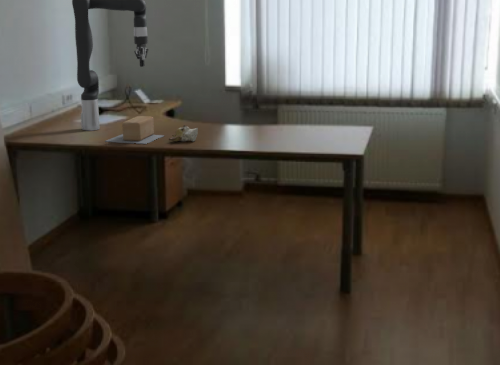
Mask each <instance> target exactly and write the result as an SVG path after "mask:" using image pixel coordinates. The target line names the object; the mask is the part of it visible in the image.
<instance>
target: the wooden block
mask: <svg viewBox="0 0 500 365" xmlns="http://www.w3.org/2000/svg"><path fill="white" fill-rule="evenodd" d="M154 122H155V121H154V117H153V116H146V115H137V116H134V117H133V118H130V119H128V120H125V121H123V122H122V126H121V128H122V134H123V140H125V141H141V140H143V139H145V138H147V137H149V136H151V135H155V126H154V125H155V123H154Z"/></svg>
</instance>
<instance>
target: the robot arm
mask: <svg viewBox="0 0 500 365" xmlns="http://www.w3.org/2000/svg"><path fill="white" fill-rule="evenodd" d="M71 5H72V10H73V15H74V16H73V17H74V35H75V36H74V37H75V48H76V62H77V66H76V67H77V68H76V80H77V84H78V86H80V88H82V89H83V92H82V93H81V94H80V99H81V101H80V102H81V112H80V122H81V123H80V125H81V130H83V131H96V130H100V126H101V125H100V114H99V112H100V110H99V92H100V91H99V90H100V88H99V86H100V85H99V84H100V83H99V76H98V73H97V72H96V71H94V70H93V69H92V70H91V69H90V68H91V67H90V61H91V57H92V54H93V49H94V48H93V47H94V41H93V34H92V29H91V25H90V19H89V10H93V9H94V10H95V9H101V10H109V11H110V10H111V11H118V12H119V11H123V12H125V11H127V12H128V11H129V12H133V41H134V42H133V43H134V45H136V47H135V48H136V50H134V55H135V57H136V60H139V66H140V68H142V67H143V68H144V67H145V60H146V59H147V57H148V53H149V49H148V48H147V45H148V44H149V38H148V28H147V27H148V26H147V3H146V1H145V0H71Z"/></svg>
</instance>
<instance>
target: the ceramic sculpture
mask: <svg viewBox="0 0 500 365" xmlns="http://www.w3.org/2000/svg"><path fill="white" fill-rule="evenodd" d="M198 131H199V130H198V127H196V128H190V127H189V126H187V125H183V126H182V127H179V128H177V129H176V131H175V134H172V137H169V138H168V140H169V141H173V142H187V141H191V142H196V140H197V136H198Z"/></svg>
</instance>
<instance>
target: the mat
mask: <svg viewBox="0 0 500 365" xmlns="http://www.w3.org/2000/svg"><path fill="white" fill-rule="evenodd" d="M163 137H165V135H163V134H153V135H151V136H149V137H147V138H145V139H143V140H141V141H125V140H123V133H122V134H119V135H117V136H114V137H111V138H109V139H107V140H104V142H105V143H119V144H123V143H124V144H134V143H136V144H137V145H147V143H148V144H150V143H152V142H154V140H155V141H156V139H157V140H159V139H161V138H163ZM158 138H159V139H158Z"/></svg>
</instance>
